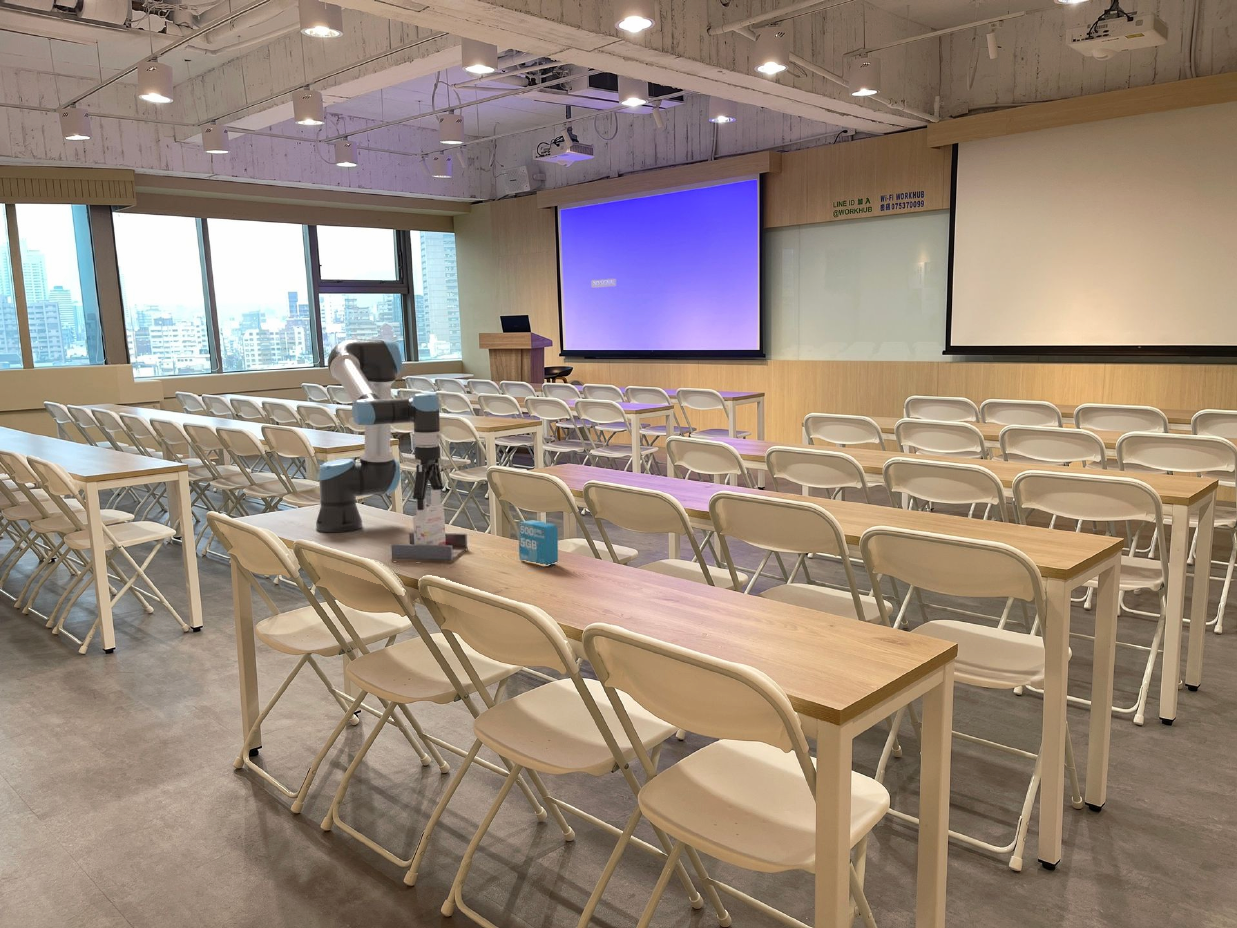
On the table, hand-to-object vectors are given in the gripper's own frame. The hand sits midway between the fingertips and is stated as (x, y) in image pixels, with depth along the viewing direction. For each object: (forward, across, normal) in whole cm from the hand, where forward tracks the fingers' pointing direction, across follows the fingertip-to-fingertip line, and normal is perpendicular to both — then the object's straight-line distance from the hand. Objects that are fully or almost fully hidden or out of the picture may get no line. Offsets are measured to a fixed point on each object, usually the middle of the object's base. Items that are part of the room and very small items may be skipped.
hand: (429, 515), depth 269 cm
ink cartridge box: (+11, 0, 0) cm, 11 cm away
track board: (+12, 0, 0) cm, 12 cm away
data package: (+12, -5, -34) cm, 37 cm away
